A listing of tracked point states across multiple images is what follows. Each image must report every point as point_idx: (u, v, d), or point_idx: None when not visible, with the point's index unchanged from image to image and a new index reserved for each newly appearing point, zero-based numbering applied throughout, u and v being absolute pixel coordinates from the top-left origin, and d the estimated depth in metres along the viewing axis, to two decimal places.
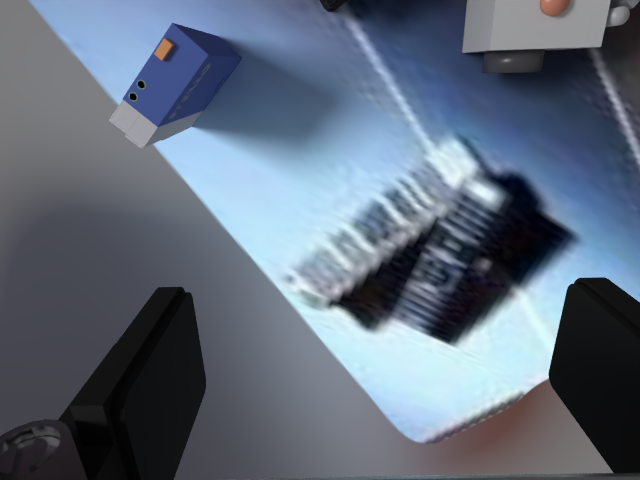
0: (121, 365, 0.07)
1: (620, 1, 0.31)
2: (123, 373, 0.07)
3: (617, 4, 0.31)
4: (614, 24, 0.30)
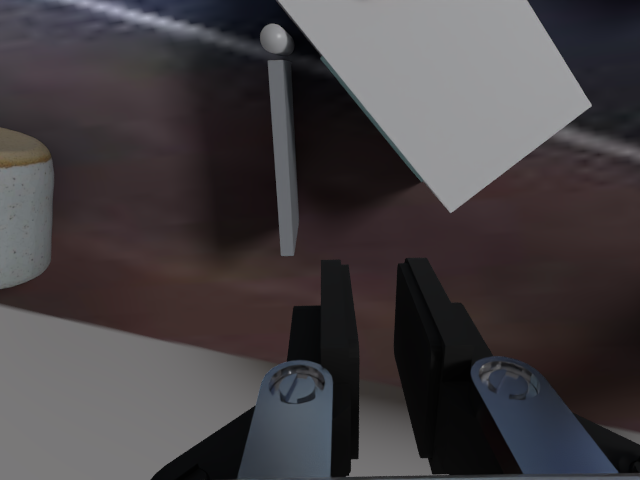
0: (339, 319, 0.08)
1: (284, 63, 0.20)
2: (346, 325, 0.08)
3: None
4: (269, 25, 0.19)
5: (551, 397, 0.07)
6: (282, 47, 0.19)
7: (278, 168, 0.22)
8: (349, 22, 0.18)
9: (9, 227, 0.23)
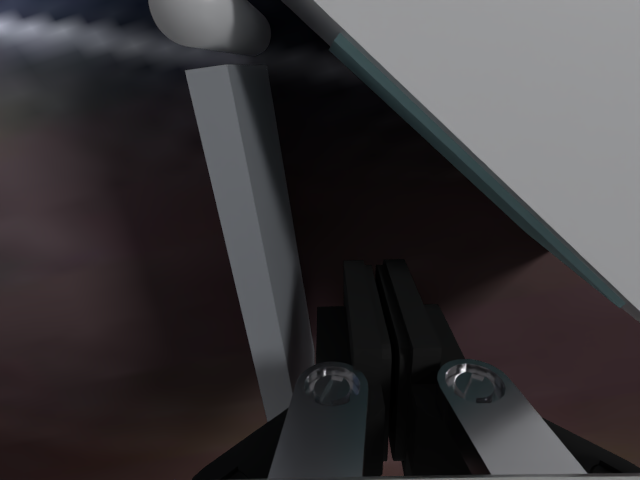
0: (369, 320, 0.08)
1: (238, 72, 0.08)
2: (377, 325, 0.08)
3: None
4: None
5: (517, 398, 0.07)
6: (219, 27, 0.06)
7: (254, 330, 0.09)
8: None
9: None
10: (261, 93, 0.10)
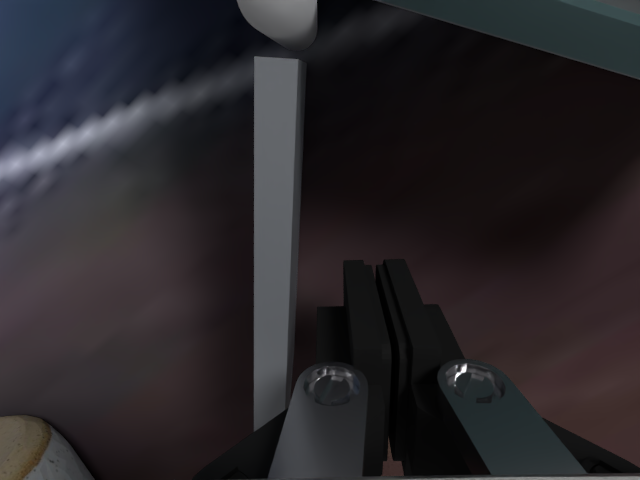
0: (369, 320, 0.08)
1: (300, 67, 0.08)
2: (376, 325, 0.08)
3: None
4: None
5: (516, 398, 0.07)
6: (301, 21, 0.06)
7: (262, 327, 0.09)
8: None
9: None
10: (303, 91, 0.10)
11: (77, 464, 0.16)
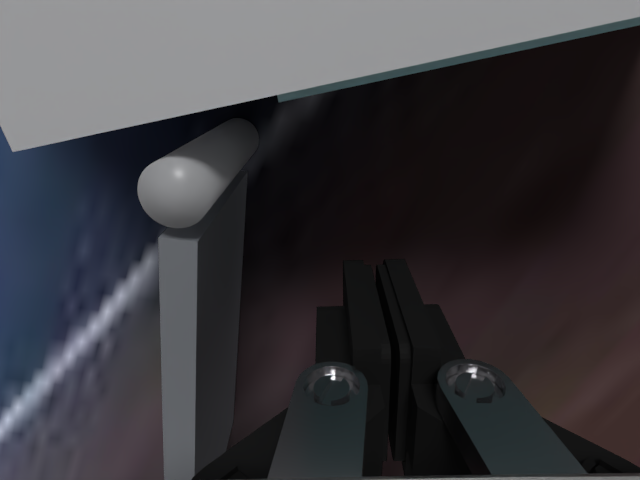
0: (369, 320, 0.08)
1: (209, 232, 0.08)
2: (377, 325, 0.08)
3: (208, 220, 0.09)
4: (166, 158, 0.07)
5: (517, 398, 0.07)
6: (197, 218, 0.07)
7: (171, 447, 0.09)
8: None
9: None
10: (233, 213, 0.11)
11: None
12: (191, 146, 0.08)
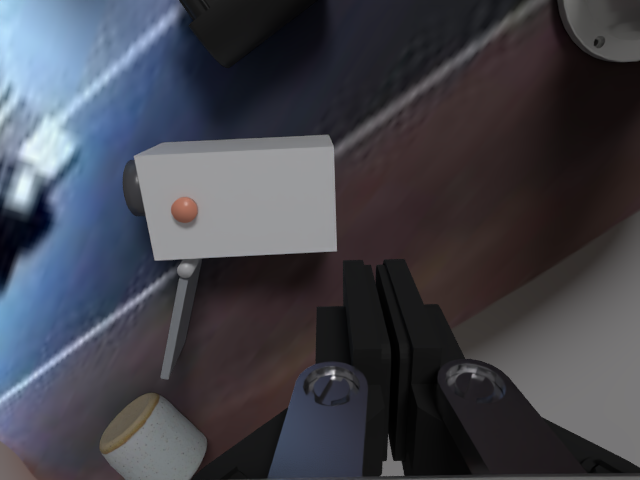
0: (368, 320, 0.08)
1: (190, 277, 0.34)
2: (376, 326, 0.08)
3: None
4: (184, 263, 0.33)
5: (517, 398, 0.07)
6: (188, 276, 0.33)
7: (171, 332, 0.35)
8: (201, 236, 0.32)
9: (170, 445, 0.40)
10: (196, 269, 0.37)
11: (171, 404, 0.43)
12: None
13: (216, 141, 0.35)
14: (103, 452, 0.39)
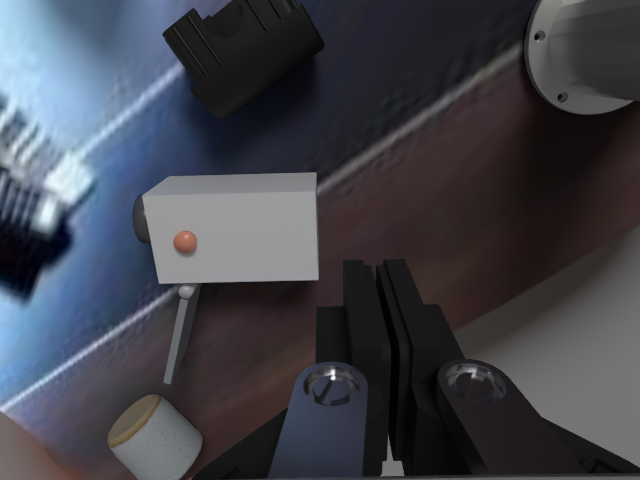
0: (369, 319, 0.08)
1: (190, 297, 0.39)
2: (376, 326, 0.08)
3: None
4: (184, 286, 0.38)
5: (517, 398, 0.07)
6: (188, 297, 0.38)
7: (173, 344, 0.40)
8: (199, 264, 0.36)
9: (169, 442, 0.45)
10: (197, 288, 0.42)
11: (171, 405, 0.48)
12: None
13: (215, 177, 0.39)
14: (110, 446, 0.45)
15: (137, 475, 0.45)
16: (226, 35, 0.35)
